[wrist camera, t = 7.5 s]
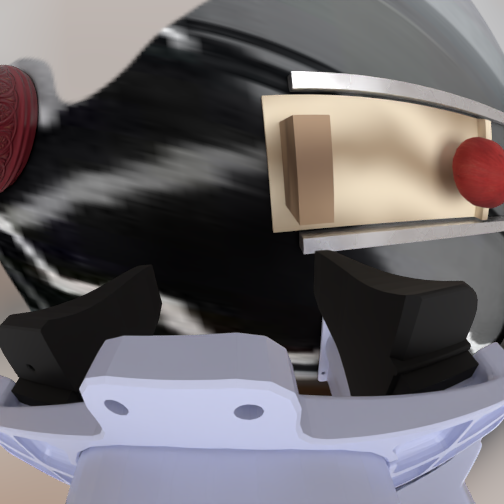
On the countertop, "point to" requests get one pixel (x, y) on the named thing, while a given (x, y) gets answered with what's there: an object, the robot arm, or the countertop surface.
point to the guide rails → (396, 231)
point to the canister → (15, 122)
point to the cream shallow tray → (363, 161)
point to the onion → (480, 172)
